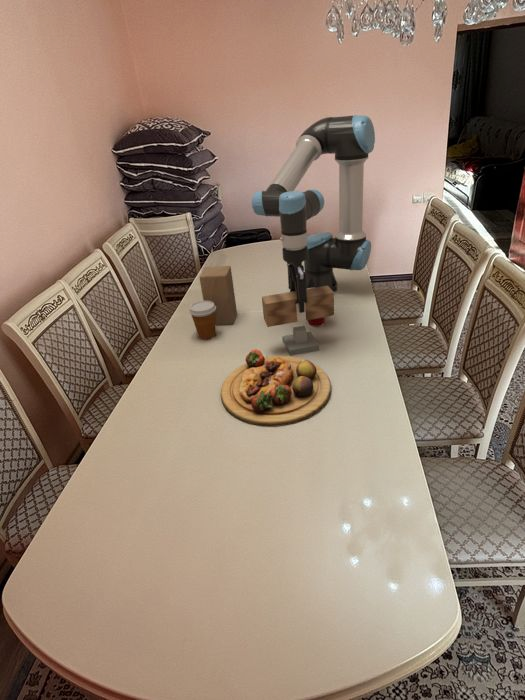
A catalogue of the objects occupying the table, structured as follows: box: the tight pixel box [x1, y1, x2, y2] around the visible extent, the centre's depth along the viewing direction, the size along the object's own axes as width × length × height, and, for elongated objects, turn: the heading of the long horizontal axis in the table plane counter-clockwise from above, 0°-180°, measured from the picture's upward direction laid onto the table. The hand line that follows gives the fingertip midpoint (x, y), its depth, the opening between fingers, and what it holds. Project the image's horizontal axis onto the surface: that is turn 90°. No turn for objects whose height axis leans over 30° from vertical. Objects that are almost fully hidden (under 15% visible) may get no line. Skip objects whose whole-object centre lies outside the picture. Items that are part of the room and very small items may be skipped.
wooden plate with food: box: [220, 348, 332, 427], centre depth 129 cm, size 32×32×8 cm
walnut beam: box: [261, 286, 335, 328], centre depth 144 cm, size 22×6×8 cm, turn 102°
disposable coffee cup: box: [189, 300, 217, 340], centre depth 162 cm, size 10×10×12 cm
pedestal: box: [281, 325, 320, 357], centre depth 150 cm, size 10×10×6 cm
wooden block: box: [198, 265, 238, 326], centre depth 170 cm, size 10×10×20 cm
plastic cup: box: [307, 288, 326, 327], centre depth 162 cm, size 11×11×12 cm
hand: (298, 315), depth 146 cm, fingers closed on walnut beam, 6 cm apart
